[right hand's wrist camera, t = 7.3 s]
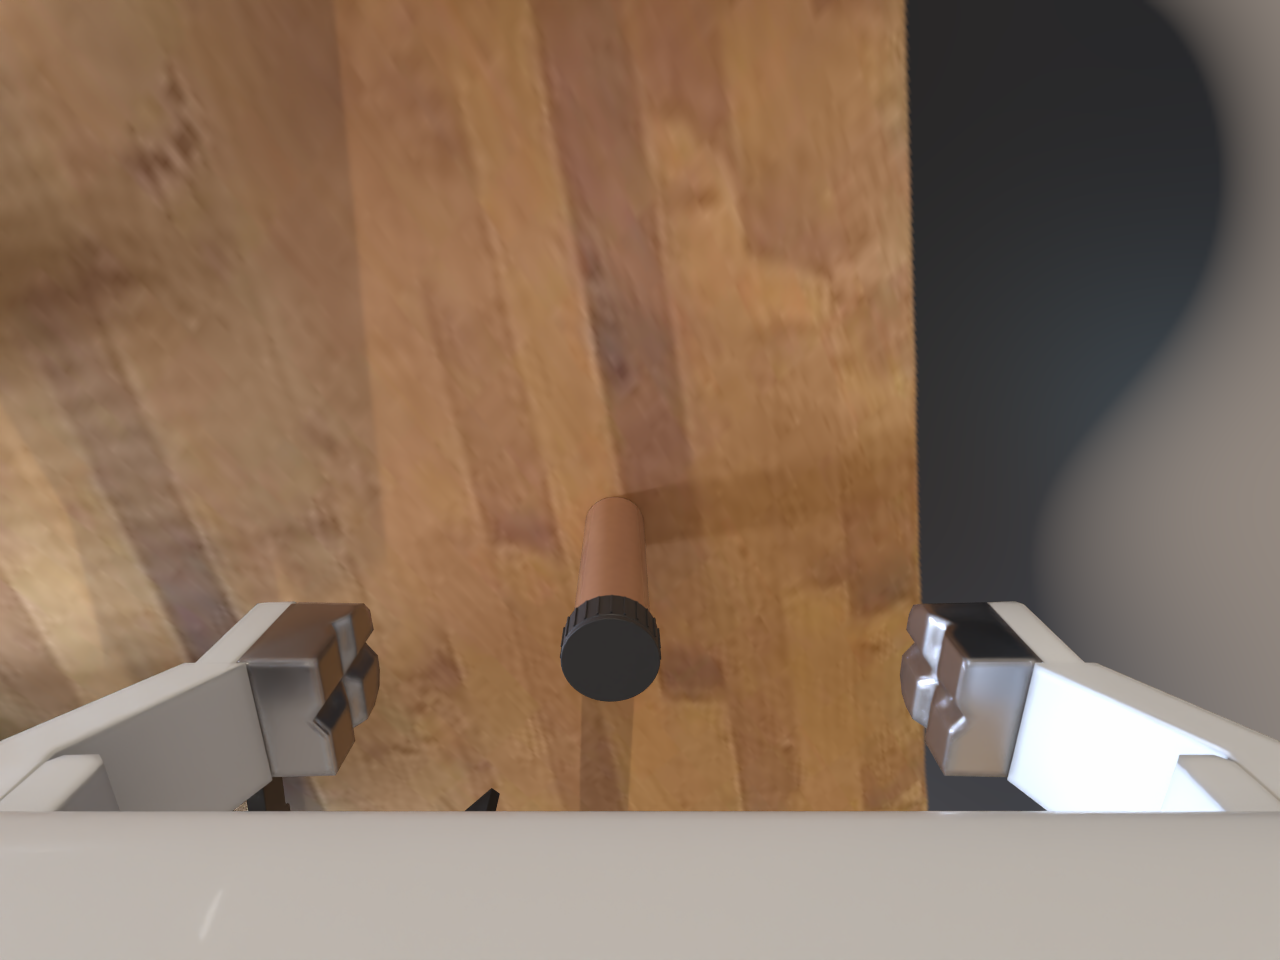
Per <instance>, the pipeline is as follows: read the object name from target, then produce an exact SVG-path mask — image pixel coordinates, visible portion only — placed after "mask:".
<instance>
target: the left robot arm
mask: <svg viewBox="0 0 1280 960" xmlns="http://www.w3.org/2000/svg"><path fill="white" fill-rule="evenodd" d="M498 799H499V793H498V792H497V791H495V790H494V789H492V788H491V789H490V790H489V791H488V792H487V793H485V794H484V795H483V796H482V797H481V798H480V799H478V800H477V801H476V802H475V803H474V804H472V805H471V806H470V807H469V808H468V809H467V810H465V811H496V807H497V803H498ZM247 805H248V811H290V806H289V804H288V803H285V797H284V788H283V780H282V777H272V781H271V782H270V783H268V784H267V785H266V786H264V787H263V788H262V789H260V790H259V791H258V792H256V793H255V794H254V795H253V796H251V797H250V798H249V799H247ZM233 811H235V810H233Z"/></svg>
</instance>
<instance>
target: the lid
mask: <svg viewBox="0 0 1280 960" xmlns="http://www.w3.org/2000/svg"><path fill="white" fill-rule="evenodd" d="M660 648H661V645H660V633H659V628H657V625H656V619H655V618H653V616H652V615H651V613H650V612H649V611H648V609H646V608H645V607H644V606H643V605H641V604H640V603H638V601H635V600H632V599H630V598H627V597H626V596H624V597H623V596H617V595H605V596H598V597H595V598H593V599H590V600H588V601H587V600H586V601H585V602H584V603H583V604H581V605H580V606H579V607H576V608H575V610H574V611H573V613H572V614H571V615H570V617H569V616H568V618H567V623H566V626H565V627H564V628H563V634H562V641H561V654H560V658H561V667H562V671H563V673H564V676H565V677H566V679H567V681H568V682H569V683H570V685H571V686H572V687H573V688H574V689H576V690H577V691H578V692H580V693H581V694H583V695H585V696H587V697H589V698H592V699H595V700H600V701H609V702H610V701H621V700H625V699H629V698H632V697H634V696H636V695H638V694H640V693H641V692H643V691H644V690H645V689H646V688H647V687H649V685H650V684H651V683H652V682H653V680H654V679H655V677H656V675H657V673H658V670H659V666H660V660H661V651H660Z"/></svg>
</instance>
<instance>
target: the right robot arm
mask: <svg viewBox="0 0 1280 960" xmlns="http://www.w3.org/2000/svg"><path fill="white" fill-rule="evenodd" d="M373 630H374V629H373V624H372V619H371V613H370V610H369V609H368V608H367V606H366V605H365V604H364V603H312V602H299V603H296V602H265V603H258V604H256V605H255V606H254V607H253V608H252V609H251V610H250V611H249V612H248V613H247V614H246V615H245V616H244V617H243V618H242V619H241V620H240V621H239V622H238V623H237V624H235V625H234V626H233V627H232V628H231V629H230V630H229V631H228V632H227V633H226V634H225V635H224V636H223V637H222V638H221V639H220V640H219V641H218V642H217V643H216V644H215V645H213V646H212V647H211V648H210V649H209V650H208V651H207V652H206V653H205V654H204V655H203V656H202V657H201V658H200V659H199V660H198V661H197V662H196V663H183V664H180V665H178V666H176V667H173V668H171V669H169V670H166V671H164V672H162V673H159V674H157V675H154V676H152V677H150V678H147V679H145V680H143V681H140V682H138V683H136V684H133V685H131V686H129V687H126V688H124V689H122V690H119V691H117V692H114V693H112V694H110V695H107V696H105V697H103V698H100V699H98V700H96V701H93V702H91V703H89V704H86V705H84V706H82V707H79V708H77V709H74V710H72V711H70V712H67V713H65V714H63V715H60V716H58V717H56V718H53V719H51V720H49V721H46V722H44V723H42V724H39V725H37V726H34V727H32V728H30V729H27V730H25V731H23V732H20V733H18V734H16V735H13V736H11V737H9V738H6V739H4V740H2V741H0V960H1280V741H1278V740H1276V739H1273V738H1271V737H1269V736H1266V735H1264V734H1262V733H1259V732H1257V731H1255V730H1252V729H1250V728H1247V727H1245V726H1243V725H1240V724H1238V723H1236V722H1233V721H1231V720H1229V719H1226V718H1224V717H1222V716H1219V715H1217V714H1215V713H1212V712H1210V711H1208V710H1205V709H1203V708H1201V707H1198V706H1196V705H1194V704H1191V703H1189V702H1186V701H1184V700H1182V699H1179V698H1177V697H1175V696H1172V695H1170V694H1168V693H1165V692H1163V691H1161V690H1158V689H1156V688H1154V687H1151V686H1149V685H1147V684H1144V683H1142V682H1139V681H1137V680H1135V679H1133V678H1130V677H1128V676H1125V675H1123V674H1121V673H1118V672H1116V671H1114V670H1111V669H1109V668H1107V667H1104V666H1102V665H1100V664H1097V663H1084V662H1083V661H1082V660H1081V659H1080V658H1079V657H1078V656H1077V655H1076V654H1075V653H1074V652H1073V651H1072V650H1071V649H1070V648H1069V647H1068V646H1067V645H1066V644H1064V643H1063V642H1062V641H1061V640H1060V639H1059V638H1058V637H1057V636H1056V635H1055V634H1054V633H1053V632H1052V631H1051V630H1050V629H1049V628H1048V627H1047V626H1046V625H1045V624H1044V623H1043V622H1042V621H1040V620H1039V619H1038V618H1037V617H1036V616H1035V615H1034V614H1033V613H1032V612H1031V611H1030V610H1029V609H1028V608H1027V607H1026V606H1025V605H1024V604H1021V603H1018V602H1015V601H1013V602H989V603H987V602H981V603H942V604H917V605H913V607H912V609H911V611H910V613H909V617H908V623H907V629H906V630H907V631H908V633H909V634H910V636H911V637H912V639H913V641H914V642H915V643H914V644H913V645H912V646H911V647H910V648H909V649H908V650H907V651H906V652H905V653H904V654H903V655H902V663H901V671H900V679H901V690H902V695H903V699H904V702H905V705H906V708H907V709H908V711H909V713H910V715H911V717H912V719H914V720H915V721H917V722H918V723H920V724H921V725H923V726H924V727H926V728H927V731H926V737H925V742H926V744H927V745H928V747H929V749H930V751H931V752H932V754H933V756H934V758H935V759H936V761H937V763H938V765H939V766H940V768H941V770H942V772H943V773H944V775H948V776H985V777H1008V781H1009V782H1011V783H1012V784H1013V785H1015V786H1016V787H1017V788H1019V789H1020V790H1021V791H1022V792H1024V793H1025V794H1026V795H1028V796H1029V797H1030V798H1032V799H1033V800H1034V801H1036V802H1037V803H1038V804H1039V805H1041V806H1042V807H1044V808H1045V809H1046V810H1047V811H233V810H234V809H236V808H237V807H238V806H239V805H241V804H242V803H243V802H245V801H246V800H247V799H249V798H250V797H251V796H253V795H254V794H255V793H256V792H258V791H259V790H260V789H262V788H263V787H264V786H266V785H267V784H268V783H270V782H271V781H272V777H294V776H330V775H336V774H337V772H338V770H339V768H340V767H341V765H342V763H343V761H344V759H345V758H346V756H347V754H348V752H349V751H350V749H351V747H352V745H353V744H354V742H355V737H354V731H353V728H354V727H356V726H357V725H359V724H360V723H362V722H363V721H365V720H367V719H368V717H369V715H370V713H371V711H372V709H373V707H374V705H375V702H376V698H377V694H378V689H379V679H380V669H379V661H378V655H377V654H376V653H375V652H374V651H373V650H372V649H371V648H370V647H369V646H368V645H367V644H366V643H365V642H366V641H367V639H368V638H369V636H370V634H371V633H372V631H373Z"/></svg>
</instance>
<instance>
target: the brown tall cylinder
mask: <svg viewBox="0 0 1280 960" xmlns="http://www.w3.org/2000/svg"><path fill="white" fill-rule="evenodd" d="M605 595H617V596H623V597H624V596H626V597H627V598H630V599H632V600H635V601H638V603H640V604H641V605H643V606H644V607H645V608H646V609H648V611H649V612H650V608H649V592H648V577H647V561H646V546H645V530H644V519H643V515H642V513H641V511H640V510H639V508H638V507H637V506H636V505H635V504H634V503H632V502H631V501H629V500H627V499H624V498H620V497H610V498H605V499H603V500H600V501H599V502H597V503H596V504H594V505H593V506H592V507H591V509H590V510H589V512H588V514H587V517H586V522H585V530H584V538H583V546H582V553H581V561H580V569H579V577H578V585H577V593H576V600H575V608H576V607H579V606H580V605H581V604H583V603H584V602H585V601H586V600H587V601H588V600H590V599H593V598H595V597H598V596H605ZM575 608H574V610H575Z"/></svg>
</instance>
